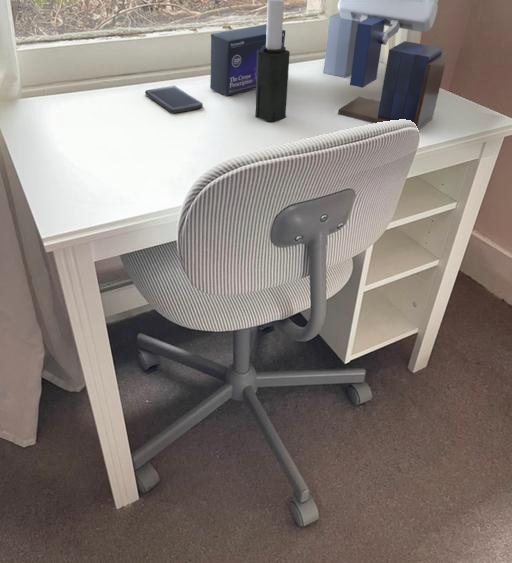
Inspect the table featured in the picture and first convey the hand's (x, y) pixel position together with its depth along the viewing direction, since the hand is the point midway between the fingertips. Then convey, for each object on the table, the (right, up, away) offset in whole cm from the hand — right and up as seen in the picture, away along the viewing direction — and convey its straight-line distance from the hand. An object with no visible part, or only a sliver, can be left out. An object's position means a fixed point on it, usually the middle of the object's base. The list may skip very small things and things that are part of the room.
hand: (371, 40), depth 109 cm
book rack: (+3, -15, +2) cm, 15 cm away
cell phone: (-42, -10, +6) cm, 43 cm away
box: (-26, -4, +15) cm, 30 cm away
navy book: (-1, -7, +4) cm, 8 cm away
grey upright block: (-2, +4, +26) cm, 27 cm away
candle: (-21, -16, 0) cm, 26 cm away
